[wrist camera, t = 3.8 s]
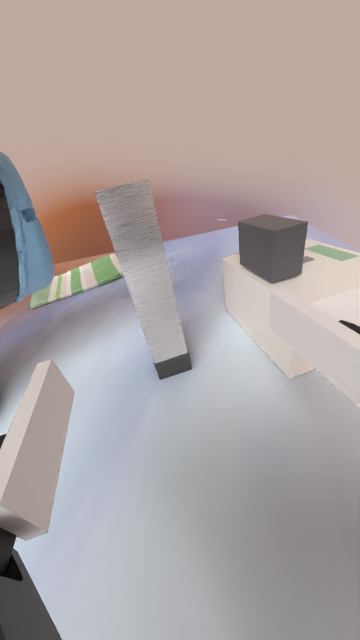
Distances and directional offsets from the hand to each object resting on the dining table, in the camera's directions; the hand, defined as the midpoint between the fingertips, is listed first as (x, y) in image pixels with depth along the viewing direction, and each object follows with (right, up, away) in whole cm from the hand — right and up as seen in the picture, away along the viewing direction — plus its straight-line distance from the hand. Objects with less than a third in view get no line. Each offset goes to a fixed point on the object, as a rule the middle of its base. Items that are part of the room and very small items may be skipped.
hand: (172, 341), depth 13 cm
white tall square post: (0, -4, +13) cm, 13 cm away
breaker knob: (+9, +6, +9) cm, 15 cm away
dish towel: (-24, +11, +44) cm, 52 cm away
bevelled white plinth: (+14, +1, +14) cm, 20 cm away
